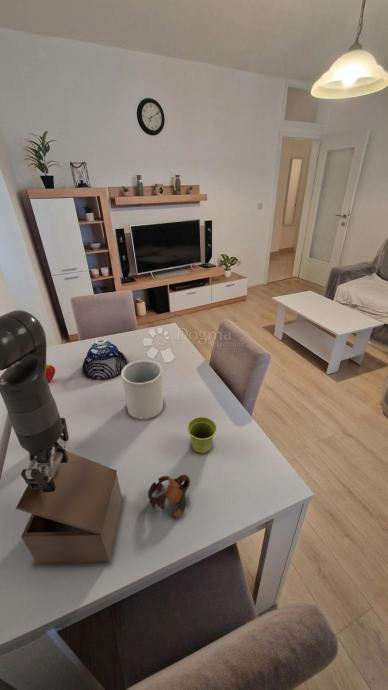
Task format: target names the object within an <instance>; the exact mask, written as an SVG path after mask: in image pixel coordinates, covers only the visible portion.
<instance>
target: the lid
mask: <svg viewBox="0 0 388 690" xmlns="http://www.w3.org/2000/svg"><path fill="white" fill-rule="evenodd" d="M66 453H67V457H68V461H67V463H60V462H61V459H62V457H63V453H61V452H56V453H55V454H54V467H53V469H52V470H51V477H52V478H53V481H54V483H55V486H56V489H55V491H54V492H43V490H42V489H30V487H29V486H28V485H27V486H26V488H25V490H24V491H23V494H22V495H21V497H20V499H19V501H18V503H17V505H16V507H15V510H18V511H21V512H24V513H27V514H31V515H32V514H34V515H37V516H40V517H44V518H47V519H50V520H53V521H56V522H60V523H63V524H66V525H69V526H73V527H76V528H79V529H82V530H86V531H89V532H92V533H95V534H99V535H100V534H101V533H102V529H103V525H104V521H105V517H106V513H107V509H108V505H109V501H110V497H111V493H112V489H113V484H114V480H115V476H116V473H117V472H118V470H117V469H114V468H112V467H109V466H106V465H104V464H101V463H98V462H97V461H94V460H91V459H88V458H85V457H84V456H81V455H78V454H76V453H73V452H71V451H68V450H66ZM39 464H40V465H48V463H39ZM41 474H42V475H46V472H41Z"/></svg>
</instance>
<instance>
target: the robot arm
mask: <svg viewBox="0 0 388 690" xmlns="http://www.w3.org/2000/svg"><path fill="white" fill-rule="evenodd" d="M47 347H48V346H47V336H46V332H45V329H44V327H43V325H42V323H41V322H40V321H39V320H38V319H37V317H36V316H34V314H32V313H30V312H28V311H25V310H20V309H19V310H17V309H16V310H12V311H9V312H6V313H4V314H3V315H0V371H3V372H2V374H1V375H0V396H1V399H2V401H3V403H4V405H5V408H6V411H7V416H8V419H9V422H10V424H11V426H12V429H13V431H14V433H15V436H16V438H17V441H18V443H19V445H20V446H21V448H22V449H24V450H25V451H27V452H28V454H29V461H30V463H29V465H28V467H27V468H23V469H22V470H21V472H20V475H21V478H22V479H23V481H24V482H25V484H26V485H27V486H29V487H30V489H42V490H43V492H54V491H55V489H56V486H55V483H54V481H53V478H52V477H51V470H52V469H53V467H54V454H55V453H56V452H61V453H63V457H62V459H61V462H60V463H67V461H68V457H67V453H66V451H67V450H66V449H67V444H66V442H68V441H69V439H70V435H69V431H68V425H67V421H66V417H61V415H60V411H59V408H58V405H57V402H56V400H55V397H54V395H53V394H52V391H51V388H50V385H49V382H48V381H47V378H46V365H47ZM39 463H48V465H40V464H39ZM41 472H46V475H42V474H41Z"/></svg>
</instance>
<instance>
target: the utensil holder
mask: <svg viewBox="0 0 388 690" xmlns="http://www.w3.org/2000/svg"><path fill="white" fill-rule="evenodd" d="M163 370H164V369H163V367H162V365H161V364H160V363H159V362H157V361H155V360H151V359H138V360H134V361H131V362H128V363H127V365H126V366H125V367H124V366H123V369H122V371H121V374H120V376H121V377H120V378H121V380H122V385H123V391H124V397H125V398H124V399H125V404H126V409H127V412H128V414H129V415H130V416H131V417H133V418H134V419H137V420H150V419H152V418H155V417H156V416H158V415H159V414H160V413H161V412H162V410H163V407H164V391H163V388H164V387H163Z"/></svg>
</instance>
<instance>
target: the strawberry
mask: <svg viewBox="0 0 388 690" xmlns="http://www.w3.org/2000/svg"><path fill="white" fill-rule="evenodd" d="M55 374H56V368H55V366H53V365H52V364H49V363H46V378H47V381H48V383H51V382H52V380H53V379H54V376H55Z"/></svg>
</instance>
